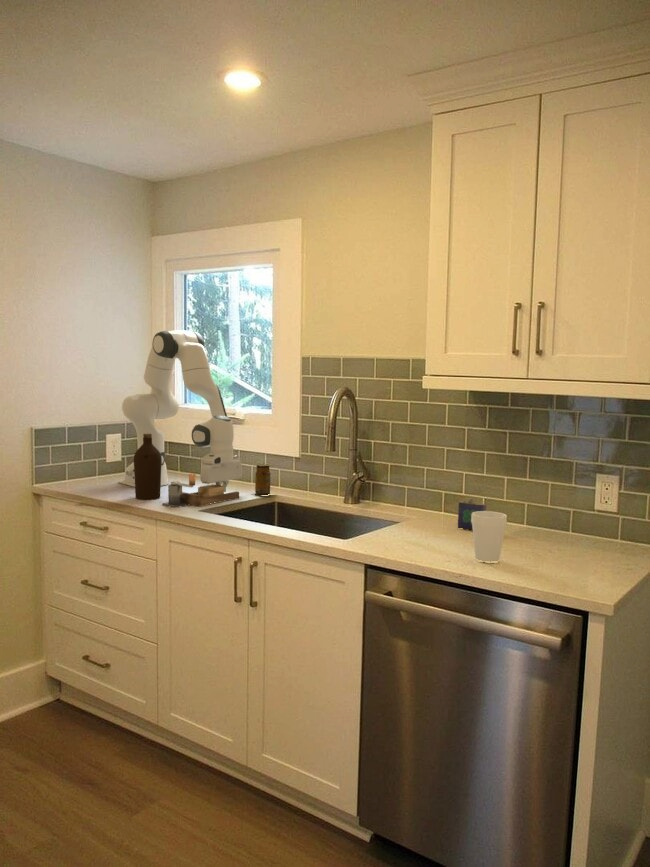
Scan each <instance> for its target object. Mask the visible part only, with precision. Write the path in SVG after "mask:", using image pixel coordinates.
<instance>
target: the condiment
mask: <svg viewBox="0 0 650 867" xmlns="http://www.w3.org/2000/svg"><path fill="white" fill-rule="evenodd" d="M270 467H271V466H270V465H269V464H264V463H263V464H257V465H256V471H255V477H254V478H255V484H254V486H255V487H254V491H255V492H252V493H250V494H251V495H253V496H258V495H268V494H271V472H270ZM255 494H256V495H255Z"/></svg>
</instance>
